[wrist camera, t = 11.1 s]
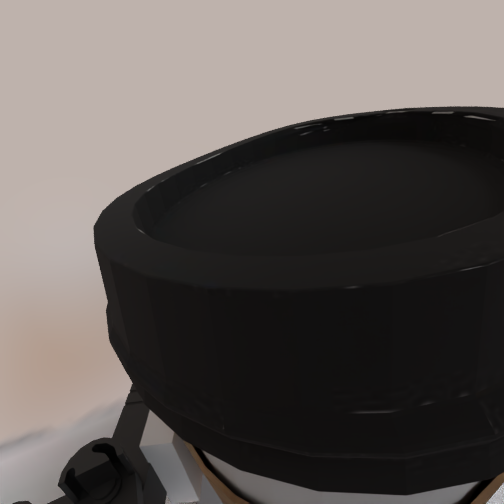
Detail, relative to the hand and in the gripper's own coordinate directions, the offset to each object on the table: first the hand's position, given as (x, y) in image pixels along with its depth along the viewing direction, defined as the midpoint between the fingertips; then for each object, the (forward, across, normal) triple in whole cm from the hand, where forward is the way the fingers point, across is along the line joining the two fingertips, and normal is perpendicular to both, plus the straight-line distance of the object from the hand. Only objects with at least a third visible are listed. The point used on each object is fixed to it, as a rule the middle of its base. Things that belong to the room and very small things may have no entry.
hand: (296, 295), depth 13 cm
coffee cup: (-5, 0, -8) cm, 10 cm away
